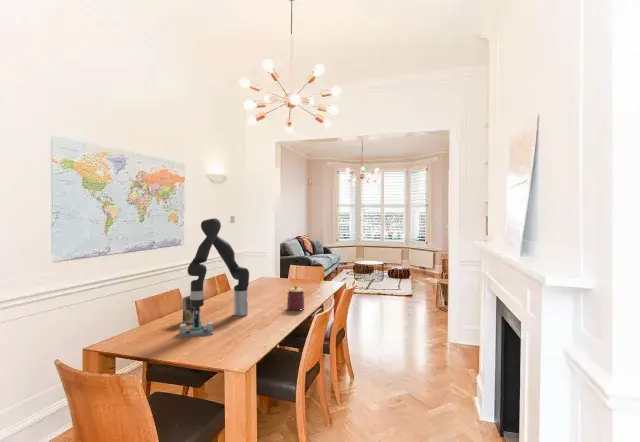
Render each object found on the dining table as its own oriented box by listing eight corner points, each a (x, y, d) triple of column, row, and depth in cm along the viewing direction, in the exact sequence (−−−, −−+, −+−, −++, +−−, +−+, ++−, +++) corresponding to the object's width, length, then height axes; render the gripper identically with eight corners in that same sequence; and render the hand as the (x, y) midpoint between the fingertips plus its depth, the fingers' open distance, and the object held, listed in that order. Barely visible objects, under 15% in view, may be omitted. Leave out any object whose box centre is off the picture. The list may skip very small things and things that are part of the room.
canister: (283, 309, 252) (284, 286, 251) (291, 305, 264) (292, 283, 263) (299, 311, 247) (300, 287, 246) (307, 307, 259) (307, 284, 259)
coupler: (201, 329, 204) (201, 321, 204) (201, 332, 199) (201, 323, 199) (192, 330, 202) (192, 321, 202) (192, 332, 197) (192, 324, 197)
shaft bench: (212, 328, 209) (212, 319, 209) (212, 334, 198) (212, 325, 198) (181, 330, 203) (181, 322, 203) (179, 337, 192) (179, 328, 192)
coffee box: (200, 321, 223) (200, 296, 222) (193, 324, 217) (194, 298, 216) (189, 319, 226) (189, 295, 225) (182, 322, 220) (182, 297, 219)
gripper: (203, 300, 195) (203, 328, 195) (203, 294, 208) (203, 321, 208) (189, 301, 192) (189, 329, 193) (190, 295, 206) (190, 322, 206)
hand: (196, 325), depth 200 cm, fingers open, 8 cm apart
